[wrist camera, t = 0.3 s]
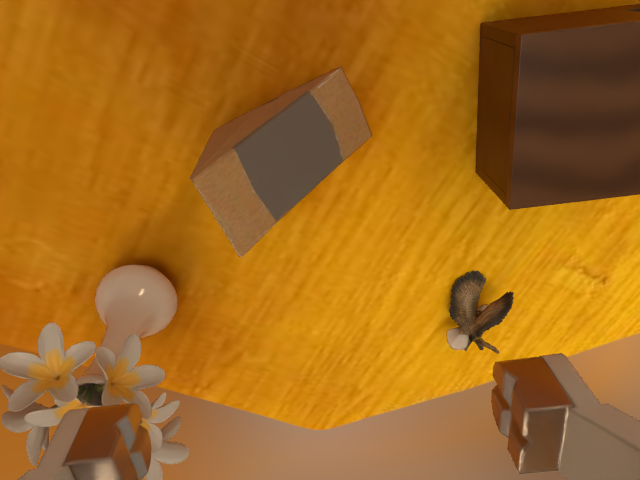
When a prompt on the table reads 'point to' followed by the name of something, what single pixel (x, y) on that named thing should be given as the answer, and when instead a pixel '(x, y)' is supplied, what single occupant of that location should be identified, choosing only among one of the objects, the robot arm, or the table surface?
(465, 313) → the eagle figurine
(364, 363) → the table surface
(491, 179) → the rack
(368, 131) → the sandwich container
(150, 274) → the flower vase
